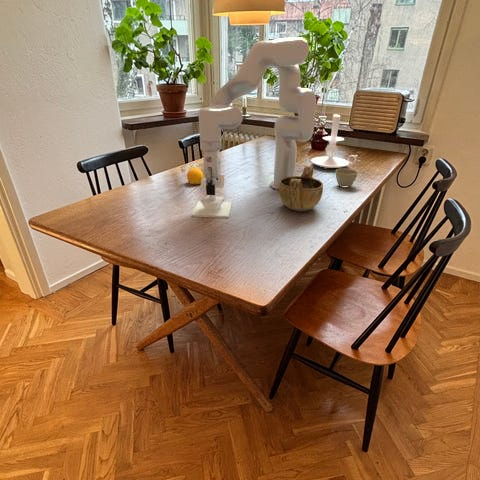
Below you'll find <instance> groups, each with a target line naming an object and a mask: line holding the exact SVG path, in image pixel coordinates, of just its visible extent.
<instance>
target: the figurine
mask: <svg viewBox="0 0 480 480" xmlns="http://www.w3.org/2000/svg"><path fill="white" fill-rule="evenodd" d="M214 184H215V195H206V196H205V197H204V198H203V199H201V200H199V201H200V202H201V203H202V204H203V206H204V207H205V209H207V210H213V211H216V210H218V209H219V208H220V207H221V205H222V203H223V202H225V200H226V197H224V196H217V189H223V188H224V186H225V173H221V172H220V175H219V177H218V180H216V178H214ZM200 186H201V187H200V191H201V193H206V178H205V177H204V178H203V179H202V180H201V183H200Z"/></svg>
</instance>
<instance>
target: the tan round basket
mask: <svg viewBox="0 0 480 480" xmlns="http://www.w3.org/2000/svg"><path fill="white" fill-rule="evenodd" d="M313 174H314V166H309V165H304V167H303V171H302V174H301V175H298V176H296V175H295V176H291V177H285V178H282V179H281V180H280V184H279V190H278V196H279V199H280V200H281V202H282V204H283V205H284V206H285V207H287V208H288V209H290V210H292V211H296V212H307V211H309V210H312V209H313V208H315V207H316V206H317V205H318V204H319V202H320V201H321V198H322V195H323V193H324V192H323V191H324V183H323V181H321V180H319V179H318V178H314V177H313Z"/></svg>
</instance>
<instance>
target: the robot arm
mask: <svg viewBox="0 0 480 480" xmlns="http://www.w3.org/2000/svg"><path fill="white" fill-rule="evenodd" d="M309 52H310V46H309V43H308V41H307V40H306V39H305V38H304V37H280V38H274V39H272V40H270V39H269V40H260V41H256V42H255V43H254V44H253V45H252V47H251V48H250V50H249V51H248V53H247V54H246V56H245V58H244V60H243V61H242V64H241V66H240V67H239V69H238V71H237V72H236V74H235V75H234V77H232V78H231V79H230V80H228V81H227V82H226V83H224V84H223V86H221V87H220V88H219V89H218V91H216V93H215V94H214V96H213V97H212V100H210V101H211V102H210V103H209V105H208V107H202V108H200V109H199V110H198V123H199V124H198V127H199V142H200V143H199V144H200V145H199V146H200V150H201V151H203V171H204V173H203V175H204V178H205V179H206V191H205V193H206V196H208V195H215V184H214V178H216V180H219V175H220V174H221V171H222V170H221V156H220V155H221V153H220V151H221V150H222V129H227V130H233V129H236V128H238V127H239V126H240V125H241V124H242V122H243V120H244V119H243V118H244V117H243V113H242V111H241V110H240V108H238V107H236V106H233V105H231V104H232V103H233V102H234V101H235V100H238V99H239V98H241V97H243V96H247V95H248V94H250V93H253V92H254V91H256V90H257V88H258V86H259V84H260V83H261V80H262V78H263V77H264V75H265V73H266V72H267V70H268V69H269V68H270V69H271V68H272V69H277V72H278V76H279V77H278V78H279V86H278V87H279V88H278V106H279V109H280V110H282V111H283V112H287V113H294V114H297V115H293V114H282V115H280V116H278V118H276V120H275V123H274V126H273V127H274V135H275V152H274V153H275V154H274V167H273V169H274V170H273V180H271V181H270V183H269V186H270V187H271V188H273V189H274V188H275V190H278V189H279V184H280V180H281V179H282V178H285V177H291V176H296V175H295V174H296V171H295V170H296V162H297V152H298V148H297V143H296V141H298V142H307V141H309V140H310V139H311V138H312V137H313V134H314V130H315V124H316V122H315V121H316V111H317V110H316V109H317V98H316V97H317V96H316V93H315V92H314V91H313V90H312V89H311V88H307V87H301V76H302V75H301V70H300V66H299V65H301V64H302V63H304V62H305V61H306V60H307V59H308V55H309Z"/></svg>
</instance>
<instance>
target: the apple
mask: <svg viewBox="0 0 480 480" xmlns="http://www.w3.org/2000/svg"><path fill="white" fill-rule="evenodd" d="M203 178H205V175H204V173H203V171H202V169H200V168H198V167H192V168H190V169H189V170H188V171H187V174H186V179H187V182H188V183H189V184H191V185H199V184H200V185H201V180H202V179H203Z"/></svg>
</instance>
